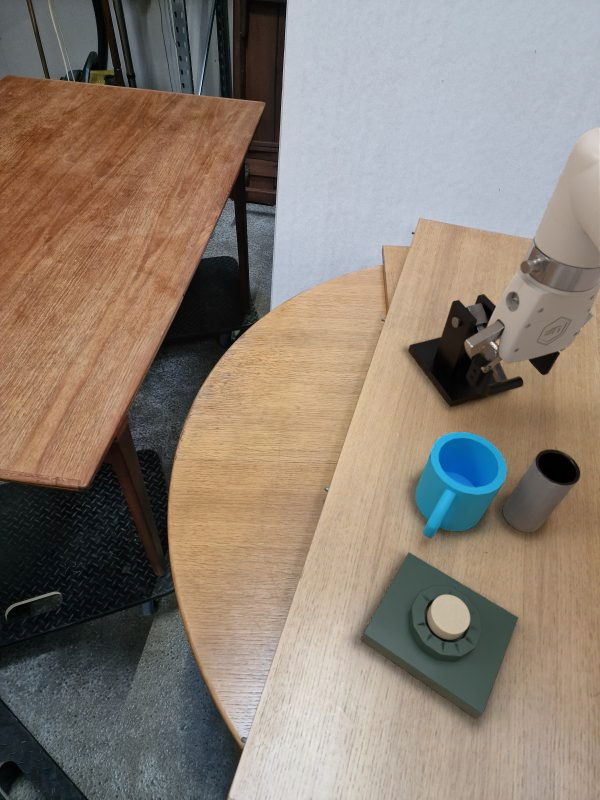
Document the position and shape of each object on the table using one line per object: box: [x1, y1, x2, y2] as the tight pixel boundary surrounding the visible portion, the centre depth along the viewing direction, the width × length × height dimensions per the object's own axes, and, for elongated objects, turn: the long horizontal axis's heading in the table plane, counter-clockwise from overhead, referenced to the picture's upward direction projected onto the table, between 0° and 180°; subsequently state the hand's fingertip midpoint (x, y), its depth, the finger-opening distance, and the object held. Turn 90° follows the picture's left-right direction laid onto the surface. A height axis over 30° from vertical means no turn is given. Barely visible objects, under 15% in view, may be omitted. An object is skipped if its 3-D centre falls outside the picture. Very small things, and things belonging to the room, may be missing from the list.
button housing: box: [360, 552, 519, 719], centre depth 50 cm, size 12×10×4 cm
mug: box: [414, 431, 508, 539], centre depth 58 cm, size 12×8×8 cm
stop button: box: [427, 595, 470, 640], centre depth 48 cm, size 4×4×2 cm
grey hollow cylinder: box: [502, 448, 581, 533], centre depth 57 cm, size 4×4×10 cm
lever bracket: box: [407, 293, 497, 408], centre depth 72 cm, size 12×9×12 cm
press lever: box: [465, 303, 525, 397], centre depth 68 cm, size 12×5×2 cm, turn 21°
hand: (506, 376), depth 66 cm, fingers open, 9 cm apart
